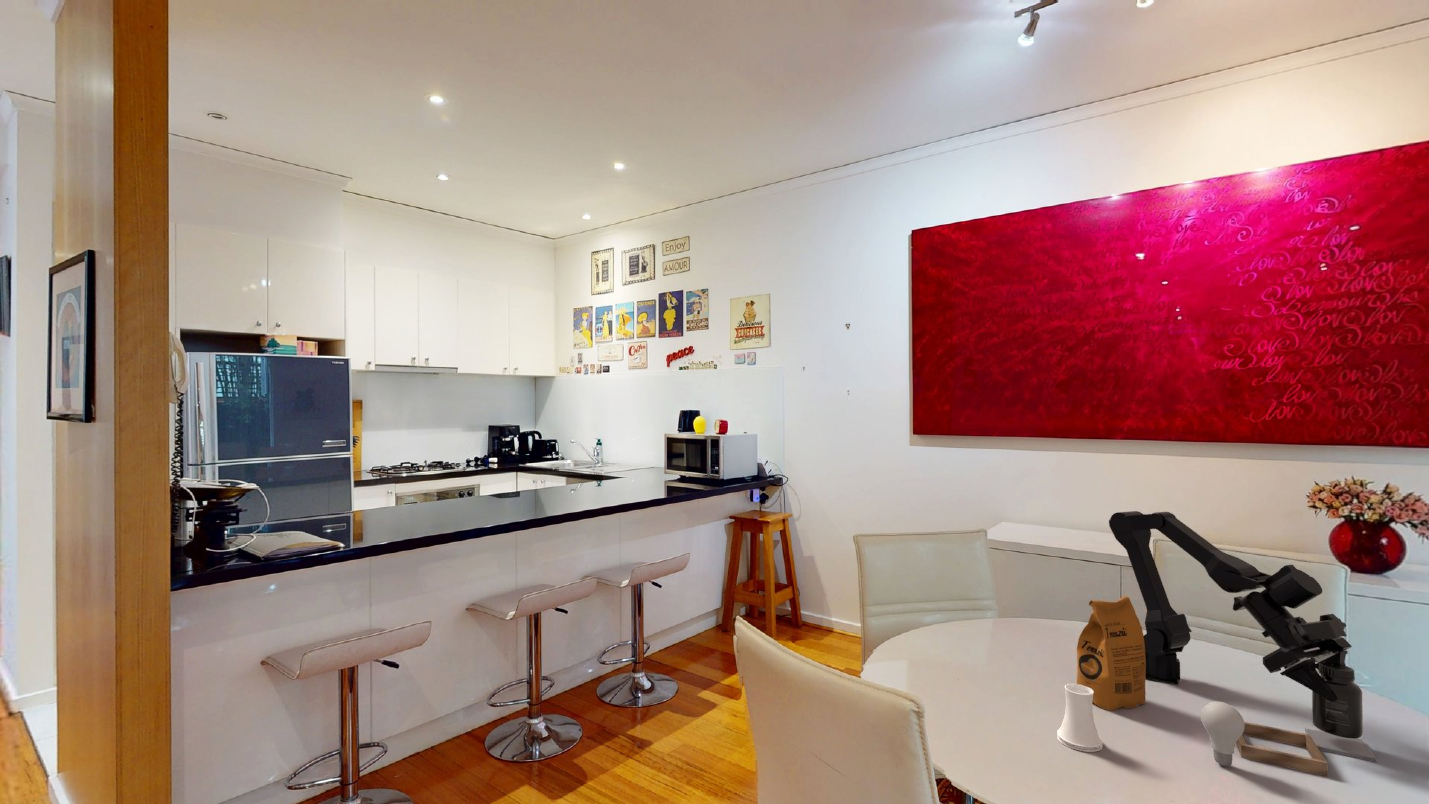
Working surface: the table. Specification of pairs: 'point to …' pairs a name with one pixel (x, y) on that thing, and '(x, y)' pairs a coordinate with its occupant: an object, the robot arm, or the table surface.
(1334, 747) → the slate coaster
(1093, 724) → the vase
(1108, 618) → the coffee package
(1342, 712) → the supplement bottle
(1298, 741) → the wooden square frame
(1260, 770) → the table surface
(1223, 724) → the lightbulb
